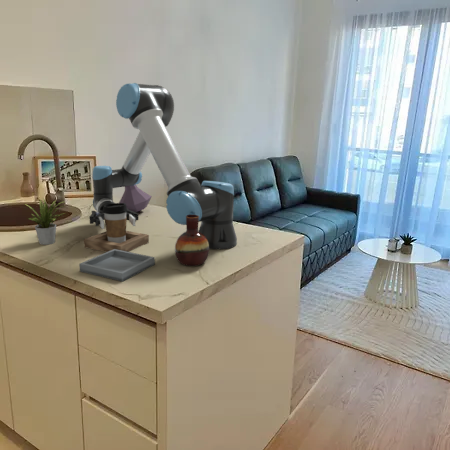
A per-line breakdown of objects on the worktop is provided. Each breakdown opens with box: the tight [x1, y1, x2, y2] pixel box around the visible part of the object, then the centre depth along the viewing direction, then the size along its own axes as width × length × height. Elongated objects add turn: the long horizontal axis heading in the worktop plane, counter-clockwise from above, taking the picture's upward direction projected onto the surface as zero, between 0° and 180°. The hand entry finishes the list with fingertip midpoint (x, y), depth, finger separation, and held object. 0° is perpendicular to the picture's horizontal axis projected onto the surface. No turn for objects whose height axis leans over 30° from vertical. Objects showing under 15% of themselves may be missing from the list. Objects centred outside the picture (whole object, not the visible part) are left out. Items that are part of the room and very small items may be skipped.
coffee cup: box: [103, 202, 128, 243], centre depth 152 cm, size 8×8×15 cm
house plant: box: [24, 198, 66, 246], centre depth 152 cm, size 14×14×16 cm
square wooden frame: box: [83, 230, 150, 253], centre depth 153 cm, size 16×16×3 cm
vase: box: [174, 215, 210, 267], centre depth 137 cm, size 11×11×15 cm
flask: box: [118, 184, 152, 213], centre depth 200 cm, size 16×16×20 cm
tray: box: [78, 249, 156, 282], centre depth 132 cm, size 16×16×2 cm
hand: (118, 223), depth 148 cm, fingers open, 10 cm apart
